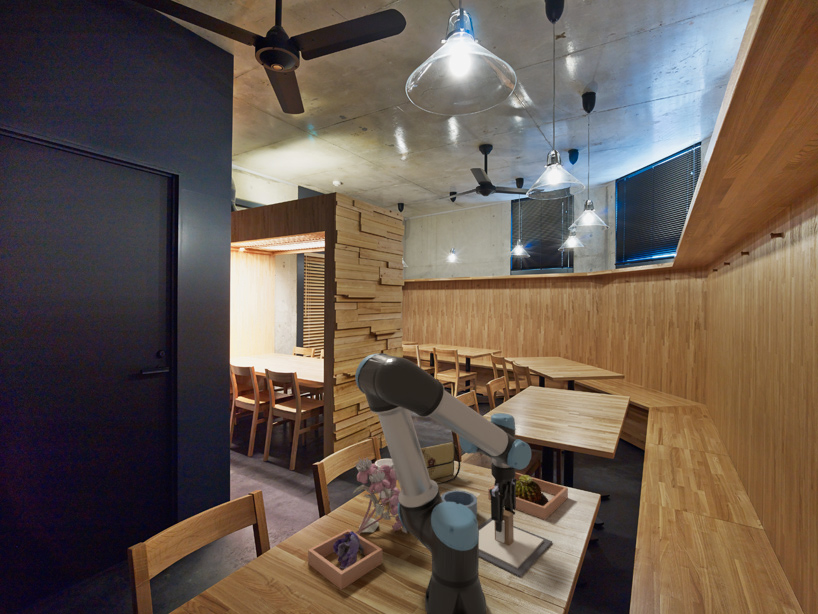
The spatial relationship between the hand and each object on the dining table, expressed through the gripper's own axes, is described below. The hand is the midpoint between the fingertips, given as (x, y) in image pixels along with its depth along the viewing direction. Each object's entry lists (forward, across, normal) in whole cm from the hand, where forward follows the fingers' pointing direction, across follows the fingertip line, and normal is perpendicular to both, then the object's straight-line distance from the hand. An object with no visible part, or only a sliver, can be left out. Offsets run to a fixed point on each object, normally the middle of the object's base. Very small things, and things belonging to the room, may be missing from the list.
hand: (504, 537), depth 122 cm
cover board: (+2, 0, 0) cm, 2 cm away
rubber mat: (+2, 0, 0) cm, 2 cm away
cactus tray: (+2, +34, +8) cm, 35 cm away
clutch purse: (+3, +20, +46) cm, 50 cm away
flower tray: (+2, -40, +30) cm, 50 cm away
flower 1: (+2, -38, +30) cm, 49 cm away
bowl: (+2, +5, +21) cm, 22 cm away
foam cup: (+2, -2, +52) cm, 52 cm away
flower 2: (+2, -19, +33) cm, 38 cm away
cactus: (+3, +32, +8) cm, 33 cm away
